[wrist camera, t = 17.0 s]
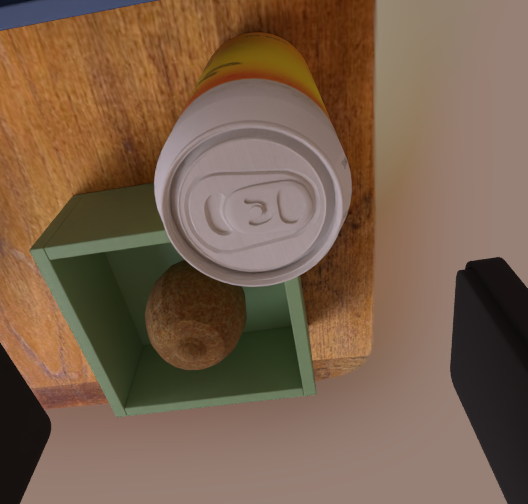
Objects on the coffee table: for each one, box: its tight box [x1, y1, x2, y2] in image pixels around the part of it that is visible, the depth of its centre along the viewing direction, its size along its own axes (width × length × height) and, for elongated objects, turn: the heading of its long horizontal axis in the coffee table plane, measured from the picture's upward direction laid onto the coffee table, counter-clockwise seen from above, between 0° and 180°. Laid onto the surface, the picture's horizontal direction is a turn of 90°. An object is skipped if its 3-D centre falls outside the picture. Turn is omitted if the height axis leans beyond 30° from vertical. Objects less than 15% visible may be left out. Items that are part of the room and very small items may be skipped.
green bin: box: [30, 183, 316, 417], centre depth 30 cm, size 14×14×7 cm
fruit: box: [145, 260, 247, 370], centre depth 29 cm, size 6×6×8 cm
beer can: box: [154, 32, 352, 287], centre depth 20 cm, size 6×6×15 cm
